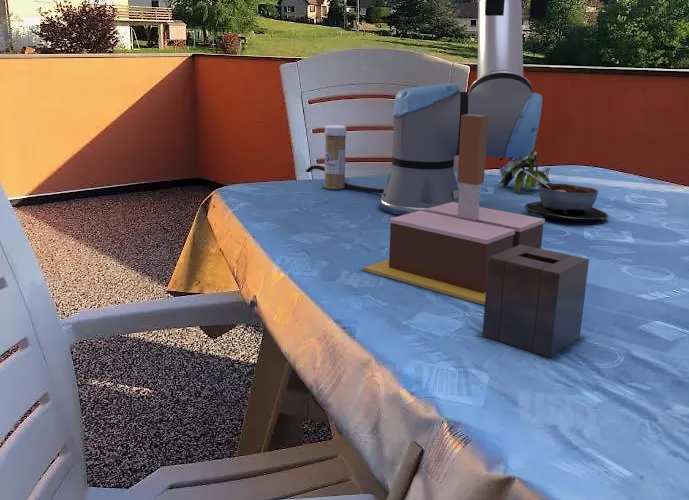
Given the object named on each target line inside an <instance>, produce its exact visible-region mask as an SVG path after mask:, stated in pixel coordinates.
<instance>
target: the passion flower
mask: <svg viewBox="0 0 689 500" xmlns="http://www.w3.org/2000/svg"><path fill="white" fill-rule="evenodd" d="M536 147H537V145H536V144H534V148H533V150H532V152H531V153H530V154H529V155H528V156H526V157H510V158H509V162H507V163H506V164H505V165H504V166H503V167H501V168H500V169H499V174H500V177H501V180H500V181H499V184H501V187H504V188H505V187H508V185H509V183H511V181H513V179H514V178H515V180H514V191H515V192H516V193H517V194H518V195H519V194H520V193H521V189H522V186H523V185H524V191H528V190H529V189H531V188H533V189H534V188H536V187H539V185H540V184H539V182H538V181H537V180H536V179H535V178H533V177H532V176H530V175H529V174H527V173H525V172H524V171H528V172H529V173H531V174H532V175H534V176H535V177H536V178H538V179H539V180H542V181H544V182H547V183H551V181H550V178H549V173H550V171H551V168H550V167H549V168H545V170H543V171H541V170H539V154H538V152H537V151H535V149H536ZM503 159H506V158H505V157H499V159H498V160H499V161H503ZM526 168H527V169H526ZM521 169H522V170H521ZM534 169H535V170H534ZM515 176H516V177H515ZM525 178H526V179H525Z"/></svg>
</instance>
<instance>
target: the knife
mask: <svg viewBox="0 0 689 500" xmlns="http://www.w3.org/2000/svg"><path fill="white" fill-rule="evenodd" d="M488 118H489V116H485V115H474V114H466V115H461V129H460V145H459V156H458V161H457V177H456V178H457V179H456V182H457V183H459V187H458V189H459V201H458V216H457V218H459V219H464V220H469V221H474V222H478V217H479V207H480V202H481V187H482V184H484V181H485V171H486V170H485V169H486V144H487V131H488Z"/></svg>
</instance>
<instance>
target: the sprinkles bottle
mask: <svg viewBox="0 0 689 500" xmlns="http://www.w3.org/2000/svg"><path fill="white" fill-rule="evenodd" d="M324 134H325V155H324V167H325V171H324V185H323V186H324V188H325V189H327V190H333V191H338V190H343V189H346V188H345V185H344V183H346V182H345V180H346V179H345V176H346V138H347V126H346V125H341V124H329V125H325V126H324Z"/></svg>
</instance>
